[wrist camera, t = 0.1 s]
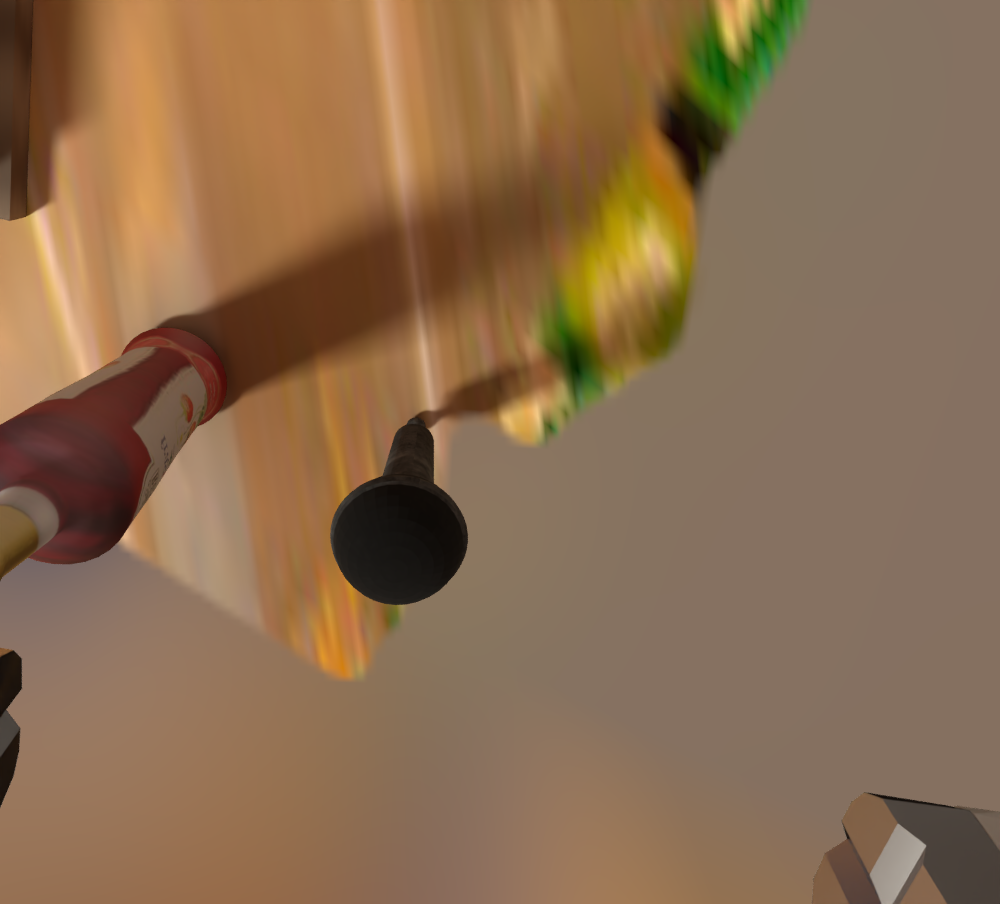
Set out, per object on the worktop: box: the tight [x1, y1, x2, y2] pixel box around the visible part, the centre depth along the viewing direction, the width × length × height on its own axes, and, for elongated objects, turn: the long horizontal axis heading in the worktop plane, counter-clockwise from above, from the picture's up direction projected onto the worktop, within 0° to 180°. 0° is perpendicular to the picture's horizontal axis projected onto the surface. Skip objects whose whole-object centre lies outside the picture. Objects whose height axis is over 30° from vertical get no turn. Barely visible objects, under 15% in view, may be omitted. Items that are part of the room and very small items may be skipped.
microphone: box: [330, 418, 468, 605], centre depth 48 cm, size 7×7×20 cm
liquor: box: [0, 328, 227, 580], centre depth 43 cm, size 7×7×28 cm
